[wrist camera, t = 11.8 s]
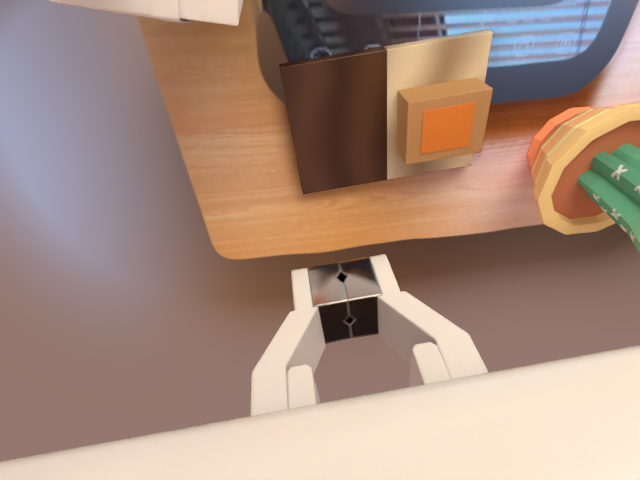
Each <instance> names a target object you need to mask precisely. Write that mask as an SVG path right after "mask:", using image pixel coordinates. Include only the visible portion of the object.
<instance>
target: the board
mask: <svg viewBox="0 0 640 480" xmlns="http://www.w3.org/2000/svg"><path fill="white" fill-rule="evenodd" d="M492 35H493V32H492V31H490V30H488V29H486V30H480V31H474V32H468V33H462V34H456V35H450V36H444V37H438V38H432V39H426V40H420V41H414V42H408V43H402V44H396V45H390V46H385V47H379V48H373V49H367V50H361V51H355V52H349V53H343V54H337V55H331V56H325V57H319V58H314V59H308V60H302V61H296V62H290V63H284V64H280V65H279V66H280V71H281V77H282V83H283V88H284V93H285V99H286V104H287V110H288V115H289V121H290V126H291V132H292V137H293V143H294V148H295V154H296V159H297V164H298V170H299V175H300V181H301V186H302V192H303V194H307V193H313V192H319V191H324V190H330V189H336V188H342V187H347V186H353V185H359V184H365V183H371V182H376V181H382V180H387V179H394V178H400V177H405V176H411V175H417V174H423V173H429V172H434V171H440V170H446V169H452V168H457V167H463V166H469V165H471V162H472V156H473V154H467V155H461V156H455V157H449V158H443V159H438V160H432V161H426V162H420V163H414V164H408V165H406V164H405V163H404V161H403V160H402V158H401V156H400V155H399V153H398V152H397V150H396V141H397V91H398V90H403V89H409V88H415V87H421V86H427V85H433V84H439V83H445V82H451V81H457V80H463V79H469V78H475V77H476V78H478V79H479V80H481V81H482V82H484V83H485V77H486V71H487V65H488V59H489V53H490V47H491V41H492Z"/></svg>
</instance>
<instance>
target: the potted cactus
mask: <svg viewBox="0 0 640 480" xmlns="http://www.w3.org/2000/svg"><path fill="white" fill-rule="evenodd" d="M527 159H528V163H529V167H530V170H532V176H533V181H534V185H535V188H534V191H533V193H534V197H535V201H536V205H537V209H538V213H539V216H540V218H541V220H542V222H543V223H544V224H545V225H547V226H549V227H551V228H553V229H555V230H557V231H559V232H561V233H563V234H565V235H567V234H576V233H586V232H595V231H599V230H601V229H603V228H606V227H608V226H610V225H612V224H614V223H617V224H618V225H619V226H620V227H621V228H622V229H623V230H624V231H625V232H626V233H627V234H628V235H629V236H630V237H631V239H632V241H633V243H634V245H635V246H636V249H637V250H638V252H639V253H640V103H633V104H620V105H618V106H615V107H602V108H591V107H578V108H570V109H568V110H566V111H564V112H563V113H561V114H559V115H557V116H555V117H553V118H552V119H550V120H549V121H548V122H547V123H546V124H545V125H544V126H543V127H542V129H541V130H540V131H539V132H538V133H537V134H536V135H535V136H534V137H533V140H532V143H531V145H530V148H529V151H528V154H527Z"/></svg>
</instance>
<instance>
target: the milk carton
mask: <svg viewBox="0 0 640 480" xmlns="http://www.w3.org/2000/svg"><path fill="white" fill-rule="evenodd" d="M49 1H50V2H55V3H62V4H67V5H74V6H79V7H84V8H89V9H95V10H100V11H106V12H113V13H119V14H126V15H133V16H140V17H147V18H154V19H158V20H163V21H169V22H176V23H190V22H191V21H192V20H194V21H202V22H209V23H217V24H224V25H232V26H238V23H239V18H240V14H241V10H242V6H243V2H244V0H49Z"/></svg>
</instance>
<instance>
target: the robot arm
mask: <svg viewBox="0 0 640 480" xmlns="http://www.w3.org/2000/svg"><path fill="white" fill-rule="evenodd" d="M291 277H292V288H293V300H294V311H291V312H289V314H288V316H287V317H286V319H285V320H284V322H283V324H282V325H281V327H280V328H279V330H278V332H277V333H276V335H275V336H274V338H273V340H272V341H271V343H270V344H269V346H268V348H267V349H266V351H265V352H264V354H263V355H262V357H261V359H260V360H259V362H258V363H257V365H256V367H255V368H254V370H253V372H252V387H251V416H249V417H244V418H238V419H232V420H227V421H221V422H216V423H211V424H205V425H199V426H194V427H188V428H183V429H178V430H172V431H167V432H162V433H156V434H150V435H145V436H139V437H134V438H128V439H123V440H117V441H112V442H106V443H101V444H95V445H90V446H84V447H79V448H73V449H68V450H62V451H57V452H51V453H46V454H40V455H35V456H29V457H24V458H18V459H13V460H7V461H2V462H0V480H640V345H637V346H632V347H626V348H621V349H616V350H610V351H605V352H599V353H594V354H588V355H583V356H578V357H572V358H566V359H561V360H555V361H550V362H545V363H539V364H533V365H528V366H522V367H517V368H511V369H506V370H501V371H495V372H490V373H489V372H488V370H487V369H486V367H485V365H484V363H483V361H482V359H481V357H480V355H479V353H478V351H477V349H476V347H475V346H474V343H473V342H472V340H471V338H470V336H469V334H468V333H466V332H465V331H463V330H462V329H460V328H459V327H457V326H456V325H454V324H453V323H452V322H450V321H449V320H447V319H446V318H444V317H443V316H441V315H440V314H438V313H437V312H435V311H434V310H432V309H431V308H429V307H428V306H426V305H425V304H423V303H422V302H421V301H419V300H417V299H416V298H415V297H413V296H412V295H410V294H409V293H407V292H406V291H403V292H400V289H399V287H398V284H397V281H396V279H395V277H394V274H393V271H392V269H391V266H390V264H389V261H388V259H387V256H386V255H385V254H382V255H377V256H371V257H369V258H368V257H366V258H361V259H356V260H350V261H345V262H339V263H335V264H329V265H321V266H315V267H308V269H307V268H304V269H297V270H292V272H291ZM376 334H379V336H380V337H381V338H382V339H383V340H384V341H385V342H386V343H387V344H388V345H389V346H390V347H391V348H392V349H393V350H394V351H395V352H396V353H397V354H398V355H399V356H400V357H401V358H402V359H404V360H405V361H406V362H407V363H408V364H409V365H410V366H411V370H410V383H409V387H407V388H402V389H397V390H391V391H386V392H380V393H375V394H369V395H364V396H359V397H353V398H348V399H342V400H336V401H331V402H326V403H320V399H319V395H318V391H317V387H316V384H315V380H314V376H313V374H314V372H315V369H316V367H317V364H318V362H319V360H320V358H321V355H322V353H323V350H324V348H325V346H326V345H325V344H326V343H331V342H336V341H341V340H346V339H350V338H356V337H363V336H370V335H376Z"/></svg>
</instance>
